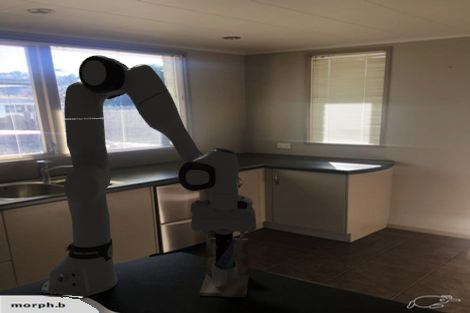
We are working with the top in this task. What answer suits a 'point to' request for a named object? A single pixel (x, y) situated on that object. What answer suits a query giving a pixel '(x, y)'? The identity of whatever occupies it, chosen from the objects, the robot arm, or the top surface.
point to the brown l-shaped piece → (242, 259)
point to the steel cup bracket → (225, 276)
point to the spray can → (224, 248)
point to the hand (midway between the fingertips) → (223, 244)
